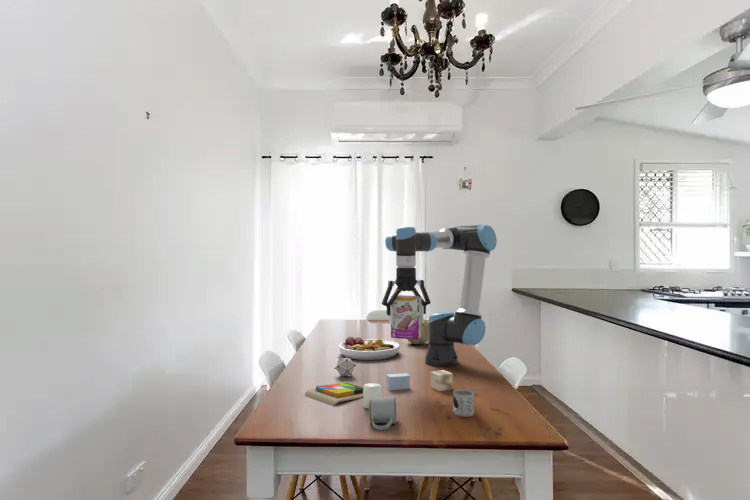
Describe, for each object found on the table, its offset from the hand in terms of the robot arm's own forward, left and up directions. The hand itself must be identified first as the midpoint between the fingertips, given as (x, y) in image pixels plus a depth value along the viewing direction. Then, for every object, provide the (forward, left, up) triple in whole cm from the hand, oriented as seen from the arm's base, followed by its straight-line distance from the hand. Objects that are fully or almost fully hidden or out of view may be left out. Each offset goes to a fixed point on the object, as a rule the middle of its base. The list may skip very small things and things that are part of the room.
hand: (406, 323), depth 185 cm
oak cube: (-12, +6, -24) cm, 28 cm away
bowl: (+3, -57, -25) cm, 62 cm away
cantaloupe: (-28, -75, -24) cm, 84 cm away
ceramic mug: (+18, +37, -24) cm, 48 cm away
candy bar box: (0, 0, -6) cm, 6 cm away
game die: (+21, -19, -24) cm, 37 cm away
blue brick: (+4, +2, -24) cm, 25 cm away
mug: (-9, +35, -24) cm, 44 cm away
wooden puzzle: (+27, +5, -25) cm, 37 cm away
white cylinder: (+18, +21, -24) cm, 37 cm away
